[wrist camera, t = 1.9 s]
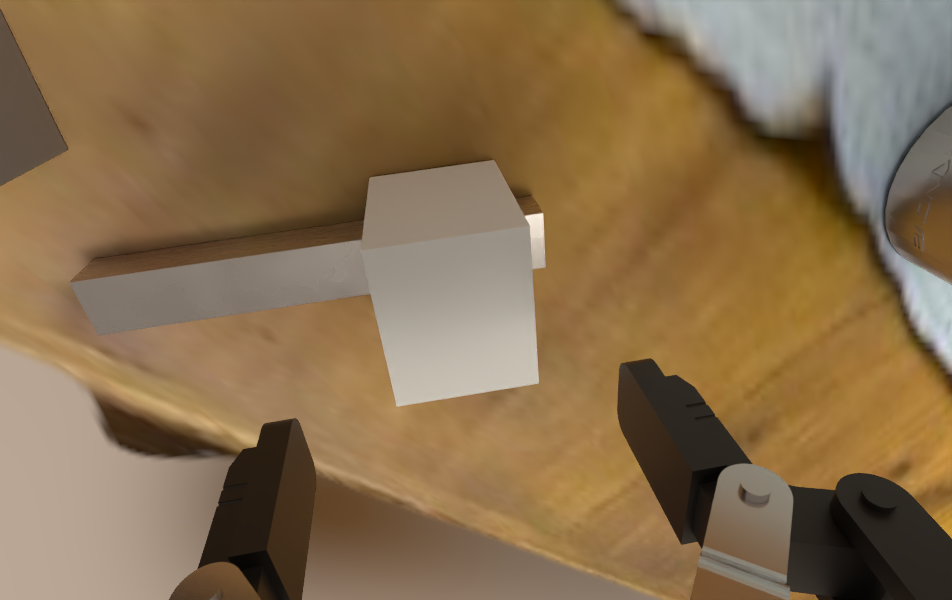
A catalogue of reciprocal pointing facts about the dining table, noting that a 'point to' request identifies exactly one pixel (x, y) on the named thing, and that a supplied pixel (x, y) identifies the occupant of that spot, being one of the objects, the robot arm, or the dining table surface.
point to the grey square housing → (22, 115)
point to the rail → (238, 275)
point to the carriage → (450, 282)
